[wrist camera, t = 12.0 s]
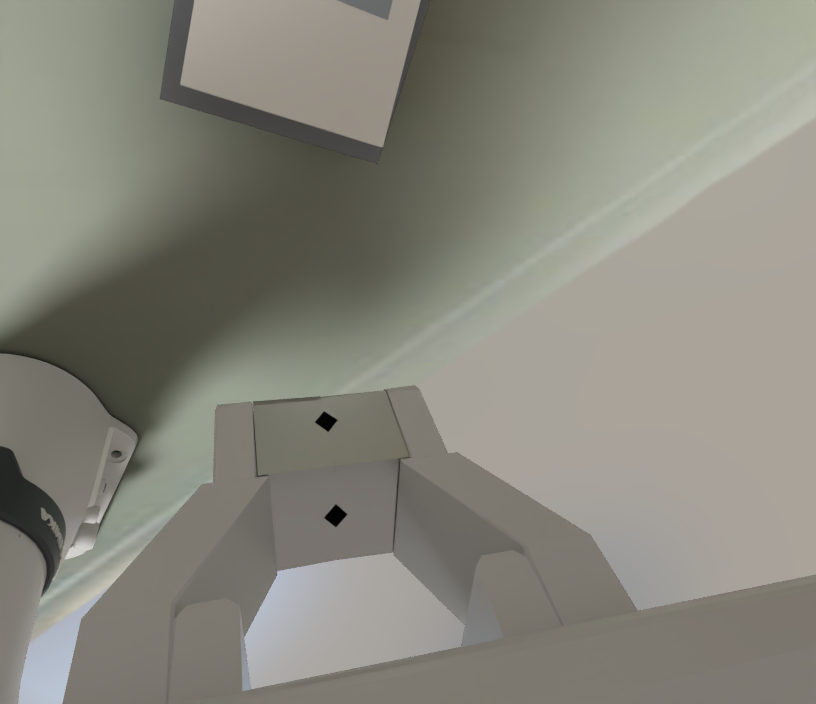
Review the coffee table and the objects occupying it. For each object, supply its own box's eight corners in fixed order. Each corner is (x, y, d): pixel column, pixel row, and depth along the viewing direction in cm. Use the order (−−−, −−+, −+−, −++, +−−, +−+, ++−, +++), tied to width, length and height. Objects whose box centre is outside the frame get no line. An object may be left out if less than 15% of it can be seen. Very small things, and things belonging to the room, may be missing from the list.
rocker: (378, 146, 36) (383, 147, 35) (180, 85, 32) (180, 84, 31) (420, -20, 34) (427, -24, 33) (213, -110, 29) (214, -118, 29)
